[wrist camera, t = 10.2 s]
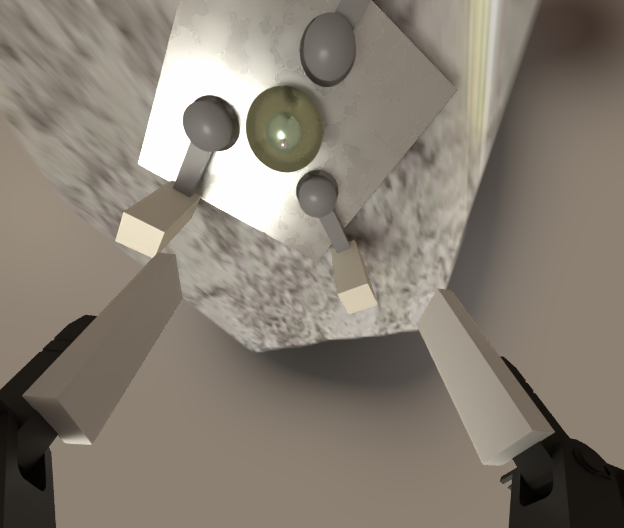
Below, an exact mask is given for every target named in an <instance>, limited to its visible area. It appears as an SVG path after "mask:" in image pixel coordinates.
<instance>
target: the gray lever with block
mask: <svg viewBox="0 0 624 528" xmlns="http://www.w3.org/2000/svg"><path fill="white" fill-rule="evenodd" d="M369 2H370V0H341V1H340V3H339V5H338V7H337V9H336V10H335V12H334V13H333V12H329V13H324V14H322V15H320V16H318V17H317V18H316V19H315V20H314V21H313V22H312V23H311V25H310V26H309V28H308V30H307V33H306V36H305V40H304V56H305V61H306V64H307V67H308V69H309V70H310V72H311V73H312V74H313V75H314V76H315V77H316V78H317V79H319V80H322V81H333V80H336V79H338V78H340V77H341V76H343V75H344V74H345V73H346V72H347V70H348V69H349V67H350V66H351V64H352V61H353V59H354V55H355V48H356V42H355V35H354V32H353V31H354V29H355V27H356V25H357V23H358V22H359V20H360V18H361V16H362V14H363V13H364V11H365V9H366V7H367V5H368V4H369Z"/></svg>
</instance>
